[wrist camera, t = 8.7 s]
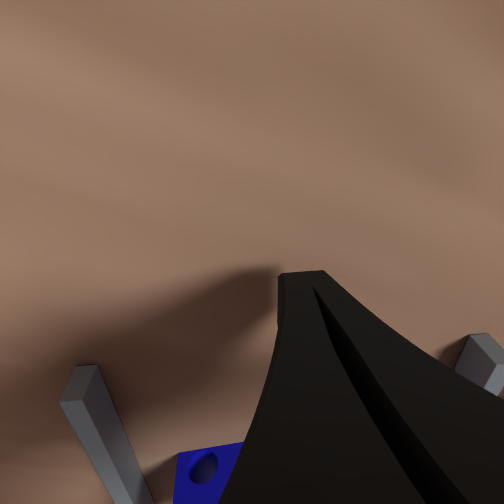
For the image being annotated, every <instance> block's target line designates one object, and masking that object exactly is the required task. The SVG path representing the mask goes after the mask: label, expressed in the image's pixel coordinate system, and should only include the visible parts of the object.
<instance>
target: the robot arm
mask: <svg viewBox="0 0 504 504" xmlns="http://www.w3.org/2000/svg"><path fill="white" fill-rule="evenodd" d="M277 324H278V331H277V336H276V341H275V347H274V351H273V355H272V359H271V363H270V367H269V371H268V374H267V378H266V381H265V384H264V388H263V391H262V394H261V397H260V400H259V403H258V406H257V409H256V412H255V414H254V417H253V420H252V423H251V425H250V428H249V431H248V433H247V436H246V438H245V441H244V443H243V445H242V448H241V450H240V453H239V455H238V458H237V460H236V463H235V465H234V468H233V470H232V473H231V475H230V477H229V479H228V482H227V484H226V486H225V488H224V491H223V493H222V495H221V497H220V499H219V501H218V503H217V504H504V400H503V399H502V398H500V397H498V396H496V395H495V394H493V393H491V392H489V391H487V390H486V389H484V388H482V387H480V386H479V385H477V384H475V383H473V382H472V381H470V380H468V379H467V378H465V377H463V376H462V375H460V374H458V373H457V372H455V371H453V370H452V369H450V368H449V367H447V366H446V365H444V364H442V363H441V362H439V361H438V360H436V359H435V358H433V357H432V356H430V355H429V354H427V353H425V352H424V351H422V350H421V349H420V348H418V347H417V346H415V345H414V344H412V343H411V342H410V341H408V340H407V339H405V338H404V337H403V336H401V335H400V334H399V333H397V332H396V331H395V330H393V329H392V328H391V327H389V326H388V325H387V324H385V323H384V322H383V321H382V320H380V319H379V318H378V317H377V316H375V315H374V314H373V313H372V312H370V311H369V310H368V309H367V308H366V307H364V306H363V305H362V304H361V303H360V302H359V301H357V300H356V299H355V298H354V297H353V296H352V295H351V294H349V293H348V292H347V291H346V290H345V289H344V288H343V287H342V286H340V285H339V284H338V283H337V282H336V281H335V280H334V279H333V278H332V277H331V276H329V275H328V274H327V273H326V272H325V271H324V270H319V271H305V272H292V273H282V274H280V275H279V276H278V311H277Z"/></svg>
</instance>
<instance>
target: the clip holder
mask: <svg viewBox="0 0 504 504" xmlns="http://www.w3.org/2000/svg"><path fill="white" fill-rule="evenodd" d="M454 371H455V372H457V373H458V374H460V375H462V376H463V377H465V378H467V379H468V380H470V381H472V382H473V383H475V384H477V385H479V386H480V387H482V388H484V389H486V390H487V391H489V392H491V393H493V394H495V395H496V396H498V394H499V393H500V391H501V389H502V388H503V386H504V349H503V348H502V347H501V346H500V345H499V344H498V343H497V342H496V341H495V340H494V339H493V338H492V337H491V336H490V335H489V334H477V335H470V336H469V338H468V340H467V342H466V344H465V347H464V349H463V351H462V353H461V355H460V357H459V360H458V362H457V364H456V366H455V368H454ZM59 404H60V406H61V408H62V410H63V411H64V413H65V415H66V417H67V419H68V420H69V422H70V424H71V426H72V428H73V429H74V431H75V433H76V435H77V437H78V438H79V440H80V442H81V444H82V446H83V447H84V449H85V451H86V453H87V455H88V456H89V458H90V460H91V462H92V464H93V465H94V467H95V469H96V471H97V473H98V474H99V476H100V478H101V480H102V481H103V483H104V485H105V487H106V489H107V490H108V492H109V494H110V496H111V498H112V499H113V501H114V503H115V504H154V501H153V499H152V497H151V494H150V492H149V489H148V487H147V484H146V482H145V480H144V477H143V475H142V472H141V470H140V467H139V465H138V463H137V460H136V458H135V455H134V453H133V450H132V448H131V446H130V443H129V441H128V438H127V436H126V434H125V431H124V429H123V426H122V424H121V421H120V419H119V417H118V414H117V412H116V409H115V407H114V404H113V402H112V400H111V397H110V395H109V392H108V390H107V387H106V385H105V383H104V380H103V378H102V375H101V373H100V370H99V368H98V366H97V365H86V366H76V367H75V369H74V371H73V373H72V375H71V377H70V379H69V381H68V383H67V385H66V387H65V389H64V391H63V394H62V396H61V398H60V400H59Z"/></svg>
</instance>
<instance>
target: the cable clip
mask: <svg viewBox="0 0 504 504" xmlns="http://www.w3.org/2000/svg"><path fill="white" fill-rule="evenodd" d="M243 443H244V442H239V443H234V444H228V445H222V446H216V447H210V448H204V449H198V450H193V451H187V452H181V453H178V462H177V471H176V479H175V488H174V497H173V504H217V503H218V501H219V499H220V497H221V495H222V493H223V491H224V488H225V486H226V484H227V482H228V479H229V477H230V475H231V473H232V470H233V468H234V465H235V463H236V460H237V458H238V455H239V453H240V450H241V448H242V445H243Z"/></svg>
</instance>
